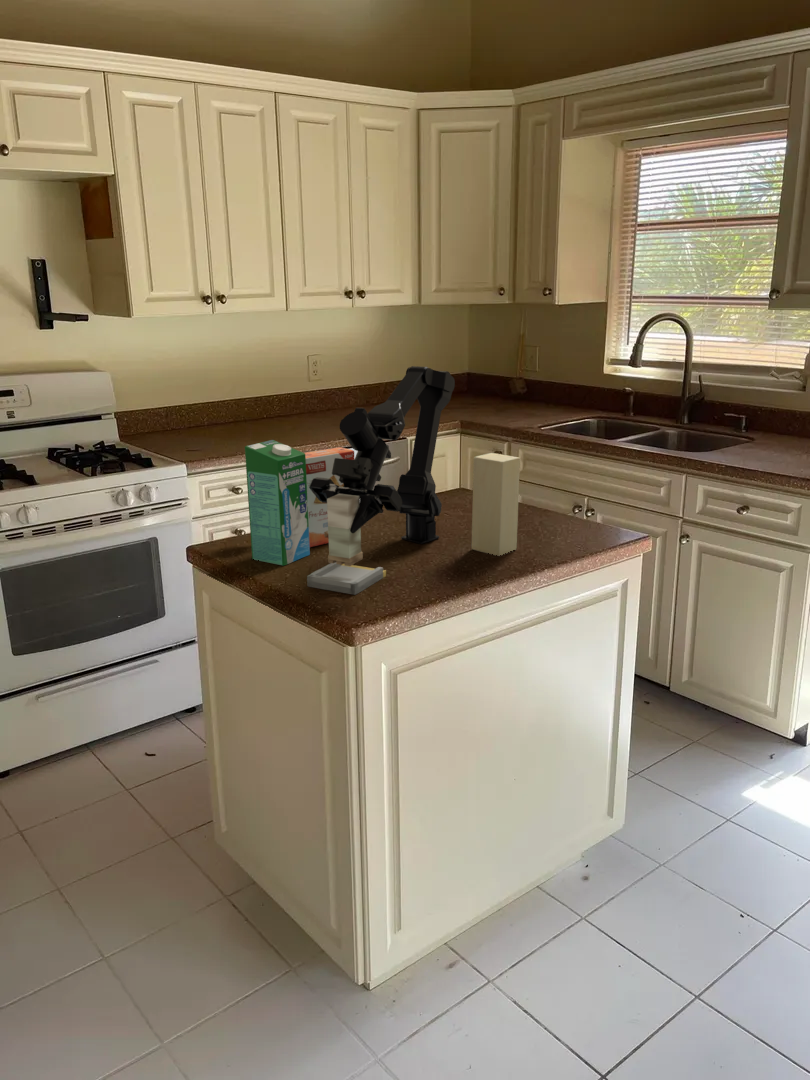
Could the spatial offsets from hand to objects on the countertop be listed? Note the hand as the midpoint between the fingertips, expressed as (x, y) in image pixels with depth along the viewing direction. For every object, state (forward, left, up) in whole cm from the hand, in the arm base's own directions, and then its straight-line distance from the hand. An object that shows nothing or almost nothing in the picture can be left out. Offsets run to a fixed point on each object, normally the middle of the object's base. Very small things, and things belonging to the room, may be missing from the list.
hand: (340, 530), depth 167 cm
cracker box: (-25, +18, -11) cm, 33 cm away
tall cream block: (+9, +38, -11) cm, 41 cm away
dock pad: (0, +1, -11) cm, 11 cm away
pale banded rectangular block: (0, +1, -7) cm, 7 cm away
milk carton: (-23, +3, -11) cm, 26 cm away
